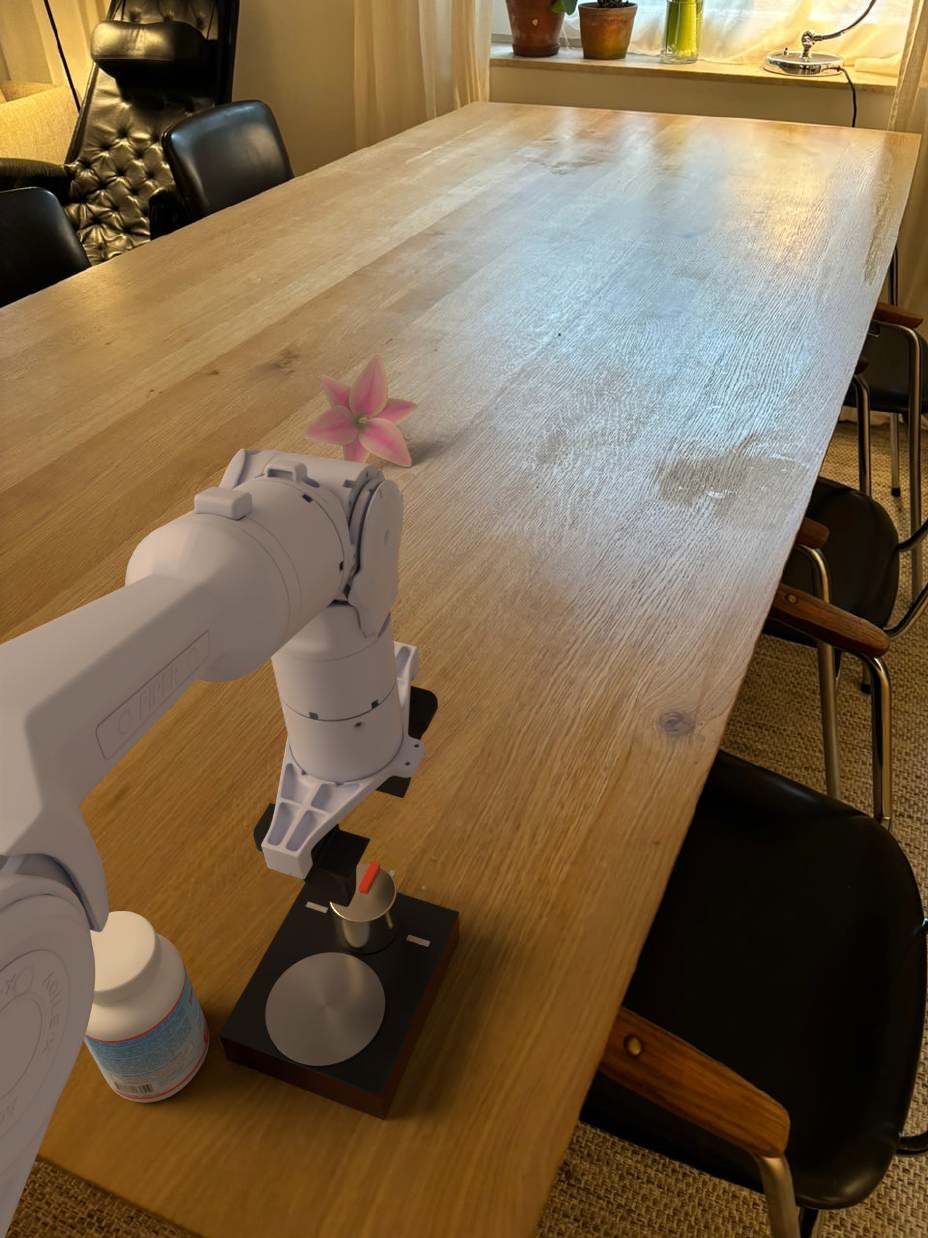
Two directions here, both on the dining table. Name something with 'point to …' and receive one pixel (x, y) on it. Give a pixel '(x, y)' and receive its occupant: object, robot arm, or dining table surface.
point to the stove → (408, 989)
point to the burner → (325, 1009)
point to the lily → (363, 417)
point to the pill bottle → (143, 1012)
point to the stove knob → (368, 912)
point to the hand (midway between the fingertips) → (363, 841)
